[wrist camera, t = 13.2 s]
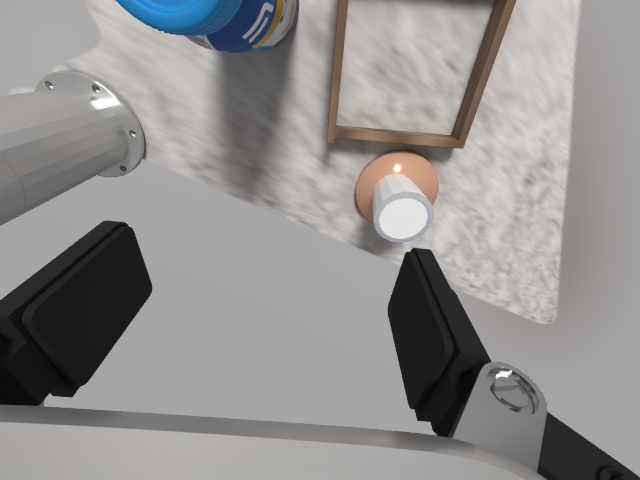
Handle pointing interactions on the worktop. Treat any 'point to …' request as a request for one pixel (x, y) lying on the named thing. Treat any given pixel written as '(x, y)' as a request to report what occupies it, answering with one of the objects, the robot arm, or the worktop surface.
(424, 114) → the worktop surface
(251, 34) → the beverage bottle
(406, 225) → the white cup
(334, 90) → the frame
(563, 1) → the worktop surface
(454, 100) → the worktop surface
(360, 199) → the tan flat disc
